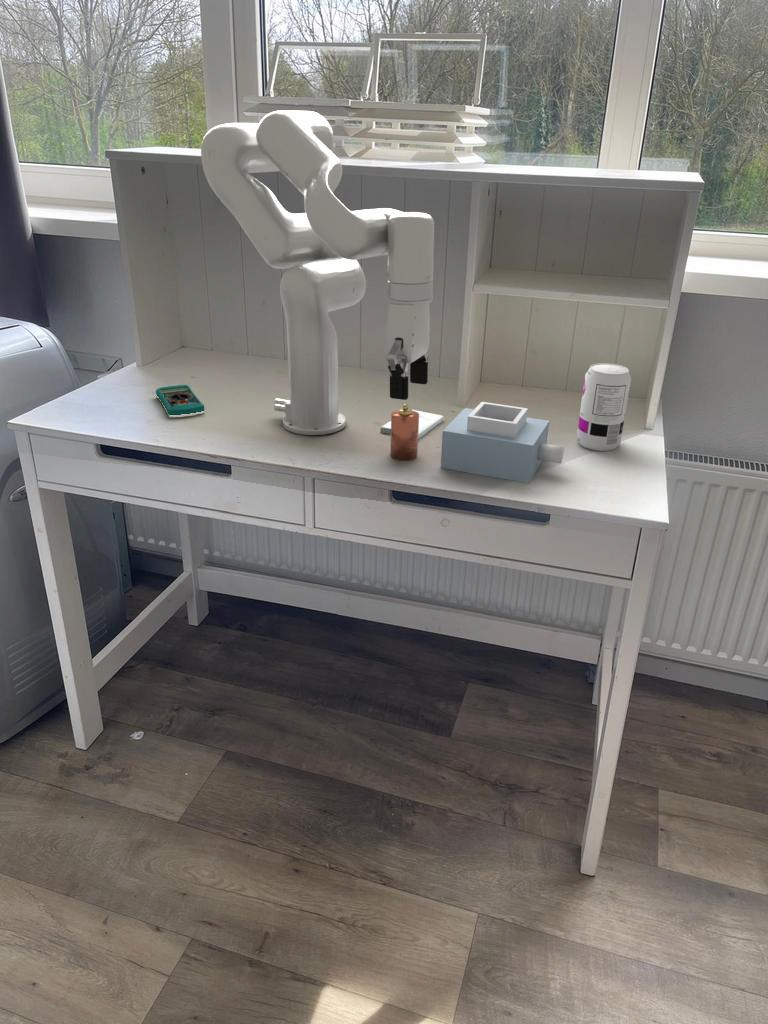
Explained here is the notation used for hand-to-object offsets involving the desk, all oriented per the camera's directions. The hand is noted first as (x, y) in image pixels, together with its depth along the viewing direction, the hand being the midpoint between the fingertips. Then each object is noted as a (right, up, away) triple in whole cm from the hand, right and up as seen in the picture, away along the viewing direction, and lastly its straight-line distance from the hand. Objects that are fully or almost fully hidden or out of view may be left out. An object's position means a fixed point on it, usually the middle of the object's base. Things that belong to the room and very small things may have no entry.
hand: (409, 390), depth 138 cm
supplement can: (+37, -8, +13) cm, 40 cm away
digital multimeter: (-48, +1, +28) cm, 56 cm away
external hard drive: (+1, -5, +20) cm, 21 cm away
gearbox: (+17, -13, +3) cm, 22 cm away
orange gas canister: (-1, -11, +6) cm, 13 cm away
